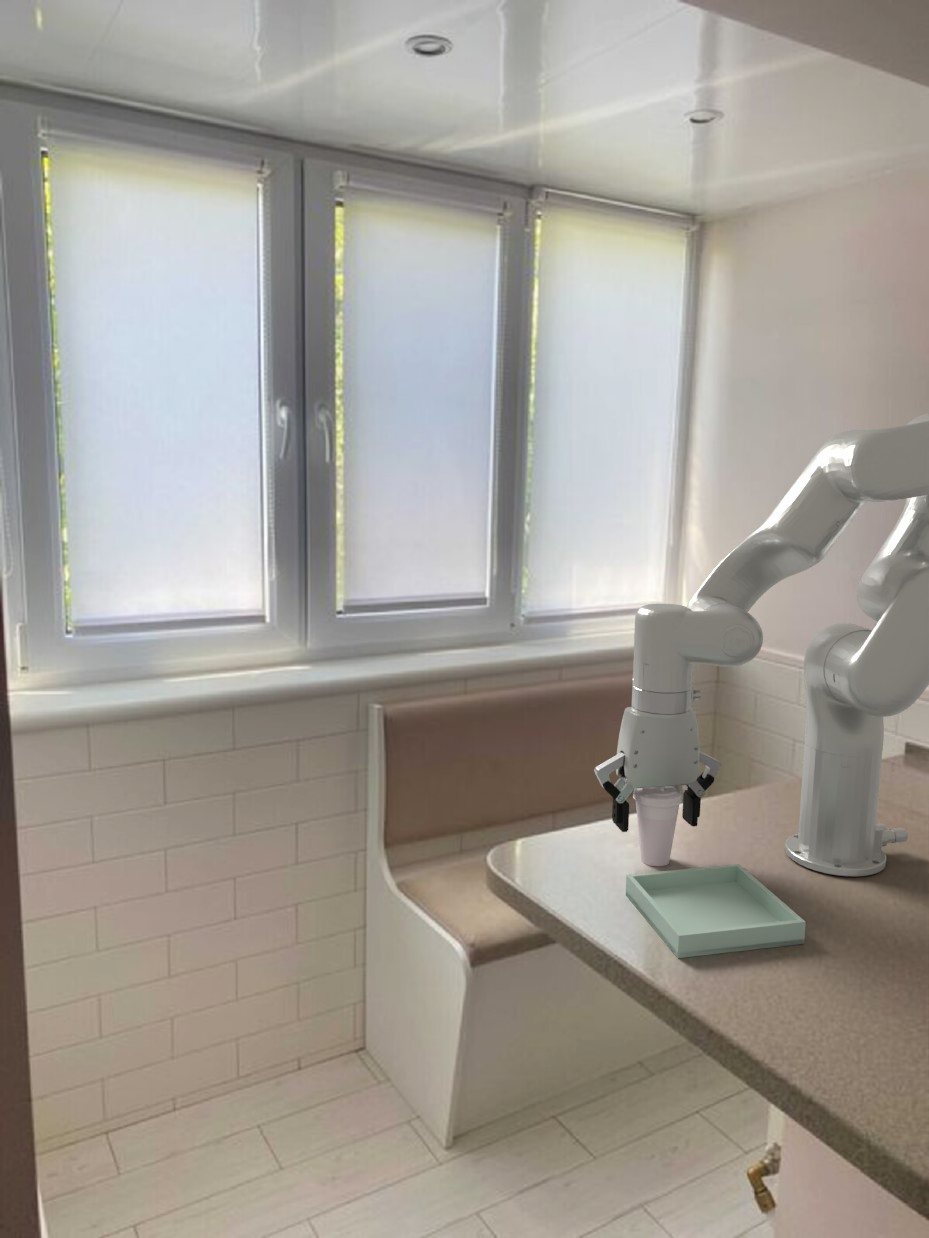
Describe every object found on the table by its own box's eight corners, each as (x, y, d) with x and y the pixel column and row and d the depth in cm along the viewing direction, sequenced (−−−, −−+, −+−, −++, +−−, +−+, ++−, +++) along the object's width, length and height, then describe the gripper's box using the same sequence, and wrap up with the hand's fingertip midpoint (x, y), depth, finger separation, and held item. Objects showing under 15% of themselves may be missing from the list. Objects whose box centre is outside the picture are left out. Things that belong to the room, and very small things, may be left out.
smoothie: (680, 872, 120) (684, 769, 118) (629, 868, 122) (633, 765, 119) (679, 852, 127) (683, 753, 124) (631, 848, 128) (634, 750, 125)
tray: (737, 883, 118) (739, 863, 117) (804, 943, 103) (805, 921, 103) (625, 894, 114) (626, 874, 114) (677, 958, 100) (678, 935, 100)
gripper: (709, 689, 126) (703, 810, 129) (587, 695, 122) (584, 819, 125) (737, 704, 119) (729, 831, 121) (608, 711, 115) (603, 841, 118)
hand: (655, 825), depth 123 cm, fingers open, 9 cm apart
